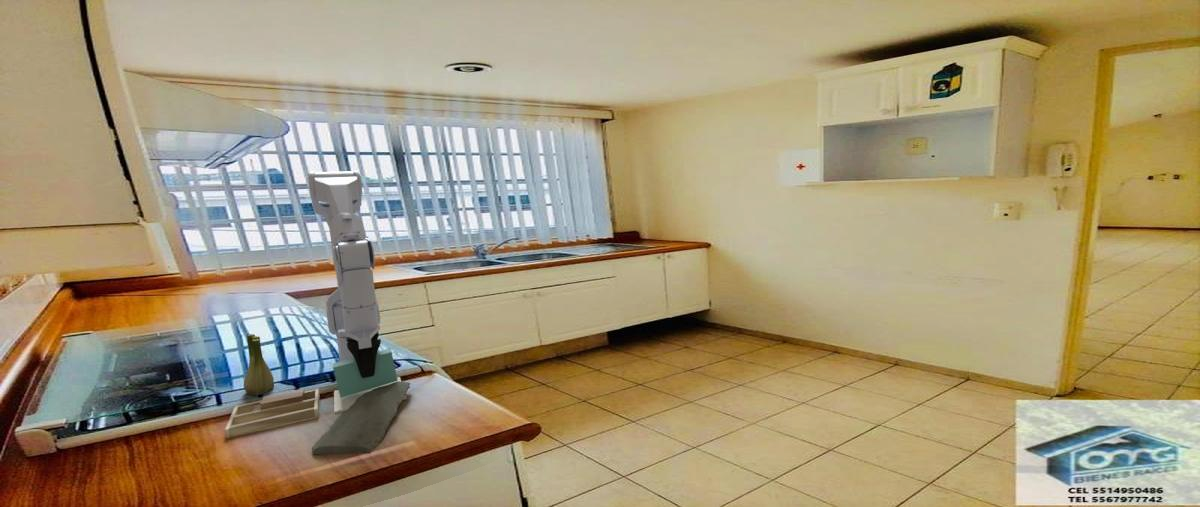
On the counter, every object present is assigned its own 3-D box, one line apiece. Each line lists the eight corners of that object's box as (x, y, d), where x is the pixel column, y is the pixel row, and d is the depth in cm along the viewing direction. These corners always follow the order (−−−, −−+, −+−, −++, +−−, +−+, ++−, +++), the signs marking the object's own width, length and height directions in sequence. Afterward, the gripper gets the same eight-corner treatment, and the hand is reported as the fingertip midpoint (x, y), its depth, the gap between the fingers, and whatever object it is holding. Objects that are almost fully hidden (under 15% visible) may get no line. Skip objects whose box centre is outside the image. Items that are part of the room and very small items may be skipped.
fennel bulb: (270, 396, 95) (261, 338, 93) (240, 401, 93) (231, 341, 91) (278, 385, 100) (270, 329, 98) (250, 389, 98) (241, 332, 96)
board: (340, 392, 91) (333, 363, 90) (396, 376, 96) (390, 348, 95) (340, 397, 89) (333, 367, 88) (397, 380, 94) (391, 351, 93)
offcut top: (264, 403, 88) (263, 396, 88) (304, 395, 91) (304, 389, 91) (261, 410, 85) (260, 403, 85) (303, 401, 88) (302, 395, 88)
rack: (237, 415, 87) (235, 405, 87) (319, 397, 93) (318, 388, 93) (226, 441, 78) (224, 429, 78) (318, 419, 85) (317, 408, 84)
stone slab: (309, 465, 72) (376, 453, 73) (304, 449, 72) (372, 436, 73) (365, 395, 94) (417, 386, 95) (362, 382, 94) (413, 373, 94)
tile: (334, 394, 94) (334, 390, 94) (400, 380, 100) (399, 376, 100) (334, 415, 86) (334, 411, 86) (406, 399, 91) (406, 395, 91)
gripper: (334, 300, 94) (342, 366, 97) (335, 317, 82) (344, 392, 84) (374, 294, 98) (381, 358, 100) (380, 310, 85) (388, 383, 87)
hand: (367, 373), depth 92 cm, fingers closed on board, 2 cm apart
